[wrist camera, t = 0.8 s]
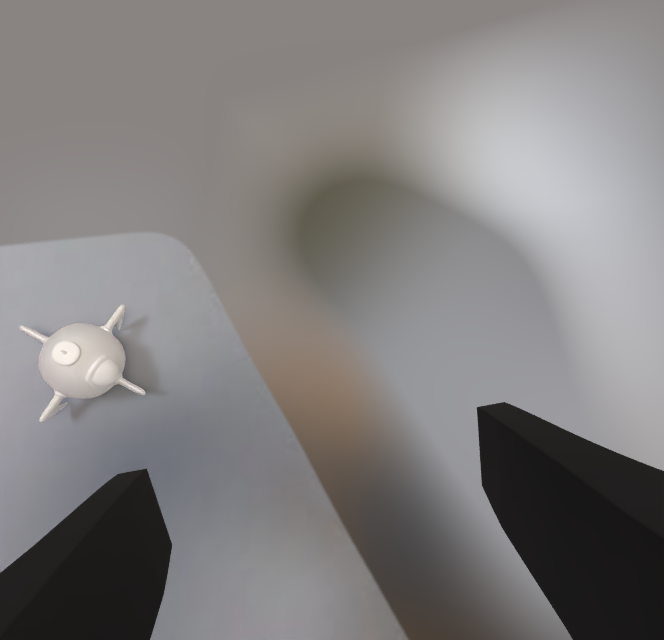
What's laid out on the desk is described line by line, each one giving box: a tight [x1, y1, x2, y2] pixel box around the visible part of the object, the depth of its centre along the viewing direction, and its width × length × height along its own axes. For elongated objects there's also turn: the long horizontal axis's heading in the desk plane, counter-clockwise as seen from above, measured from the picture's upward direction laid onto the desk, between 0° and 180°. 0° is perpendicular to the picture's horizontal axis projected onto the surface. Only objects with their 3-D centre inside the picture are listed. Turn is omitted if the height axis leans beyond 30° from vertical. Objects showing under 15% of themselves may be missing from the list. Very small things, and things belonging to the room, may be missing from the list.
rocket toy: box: [19, 305, 146, 422], centre depth 25 cm, size 5×5×8 cm
